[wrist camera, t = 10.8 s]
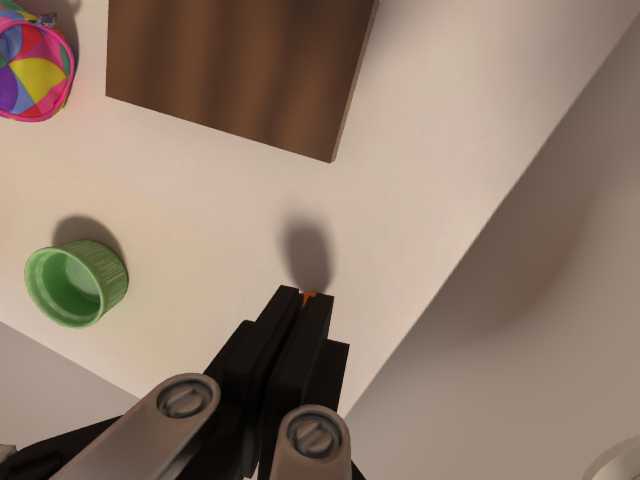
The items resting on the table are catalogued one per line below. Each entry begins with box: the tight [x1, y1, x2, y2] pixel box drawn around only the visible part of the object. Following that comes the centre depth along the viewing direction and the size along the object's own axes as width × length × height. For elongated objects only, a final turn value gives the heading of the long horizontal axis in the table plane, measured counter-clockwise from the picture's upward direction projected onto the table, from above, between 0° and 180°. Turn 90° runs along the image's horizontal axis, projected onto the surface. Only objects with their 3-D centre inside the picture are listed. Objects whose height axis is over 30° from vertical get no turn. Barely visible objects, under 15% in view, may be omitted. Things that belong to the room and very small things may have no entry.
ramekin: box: [24, 240, 127, 329], centre depth 36 cm, size 9×9×4 cm
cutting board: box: [106, 0, 379, 163], centre depth 27 cm, size 20×12×2 cm, turn 75°
